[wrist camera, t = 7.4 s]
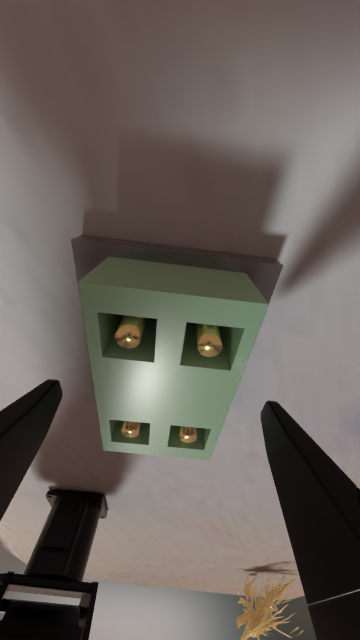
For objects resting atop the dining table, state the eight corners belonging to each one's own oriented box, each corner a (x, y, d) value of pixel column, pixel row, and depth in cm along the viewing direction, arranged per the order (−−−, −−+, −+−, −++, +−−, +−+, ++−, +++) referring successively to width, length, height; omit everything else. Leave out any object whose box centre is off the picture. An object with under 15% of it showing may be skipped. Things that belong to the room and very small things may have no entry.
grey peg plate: (223, 406, 16) (233, 466, 12) (101, 394, 15) (77, 452, 12) (274, 259, 10) (322, 294, 6) (81, 235, 9) (22, 259, 6)
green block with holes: (205, 412, 14) (209, 460, 12) (118, 403, 14) (103, 450, 12) (245, 273, 9) (268, 304, 7) (108, 256, 9) (77, 282, 6)
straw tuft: (284, 559, 48) (320, 623, 40) (230, 600, 47) (256, 676, 39) (275, 545, 43) (315, 616, 35) (214, 592, 41) (240, 677, 33)
